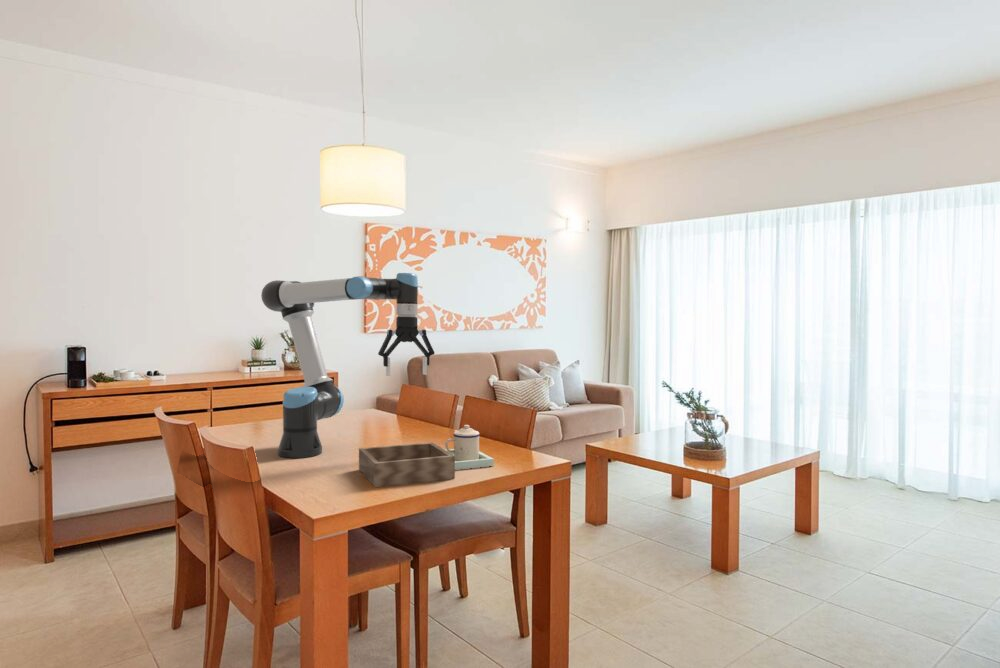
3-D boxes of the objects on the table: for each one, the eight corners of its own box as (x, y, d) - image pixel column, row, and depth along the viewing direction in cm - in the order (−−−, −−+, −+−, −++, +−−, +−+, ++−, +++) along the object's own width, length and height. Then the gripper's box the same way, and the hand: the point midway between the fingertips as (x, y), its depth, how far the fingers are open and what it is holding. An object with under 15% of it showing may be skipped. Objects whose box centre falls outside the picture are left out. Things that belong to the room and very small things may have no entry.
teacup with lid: (475, 455, 224) (475, 422, 224) (482, 461, 215) (483, 427, 215) (442, 457, 220) (442, 423, 220) (448, 463, 212) (448, 428, 211)
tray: (448, 470, 206) (448, 463, 206) (430, 458, 223) (430, 451, 223) (493, 466, 212) (493, 458, 212) (472, 454, 230) (472, 447, 230)
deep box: (374, 487, 186) (374, 463, 186) (358, 469, 206) (358, 448, 206) (454, 478, 196) (454, 456, 196) (432, 462, 216) (432, 442, 216)
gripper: (375, 316, 219) (374, 377, 219) (443, 316, 229) (442, 374, 230) (370, 315, 225) (369, 375, 226) (436, 316, 236) (436, 372, 237)
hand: (406, 375), depth 228 cm, fingers open, 13 cm apart
